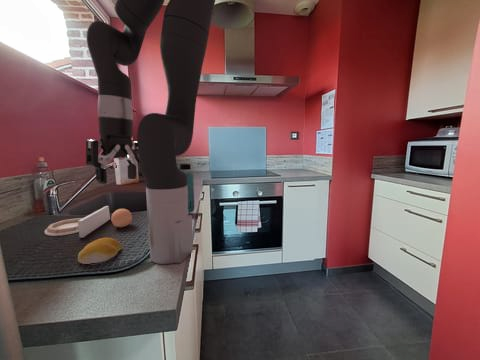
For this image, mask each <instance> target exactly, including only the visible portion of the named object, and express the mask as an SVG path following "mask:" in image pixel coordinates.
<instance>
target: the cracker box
mask: <svg viewBox="0 0 480 360" xmlns="http://www.w3.org/2000/svg"><path fill="white" fill-rule="evenodd" d="M114 163H116V165H117V168H115V167H114V174H115V182H116V183H115V184H116V185H117V186H124V185H130V184H137V183H139V182H140V179H139V170H138V169H139V168H138V165H137V166H136V169H137V171H136V172H137V175H136V178H135V179H129V178H128V165H129V164H128V163H127V162H126V160H125V159H123V158H113V164H114Z"/></svg>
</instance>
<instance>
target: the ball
mask: <svg viewBox="0 0 480 360" xmlns="http://www.w3.org/2000/svg"><path fill="white" fill-rule="evenodd" d="M132 219H133V215H132V212H130V210H128V209H126V208H118V209H116V210H115V211H113V213H112V214H111V217H110V220H111V223H112V224H113V226H115V227H117V228H123V227H127V226H128V225H130V224H131V222H132Z"/></svg>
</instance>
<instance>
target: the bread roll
mask: <svg viewBox="0 0 480 360" xmlns="http://www.w3.org/2000/svg"><path fill="white" fill-rule="evenodd" d="M121 248H122V245H121V243H120V242H119V241H118V240H117V239H115V238H113V237H102V238H101V237H100V238H98V239H95V240H94V241H91V242H90V243H89V242H88V243H87V245H86V246H84V247H83V249H82V250H80V251H79V253H78V255H77V260H78V261H77V262H79V264H81V263H82V265H84V264H90V263H96V262H102V261H105V260H108V259H110V258H112V257H114V256H115V255H116V256H117V255H118V253H119V252H120V250H121ZM118 251H119V252H118ZM116 256H115V257H116ZM115 257H114V258H115ZM112 259H113V258H112ZM110 260H111V259H110ZM108 261H109V260H108Z"/></svg>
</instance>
